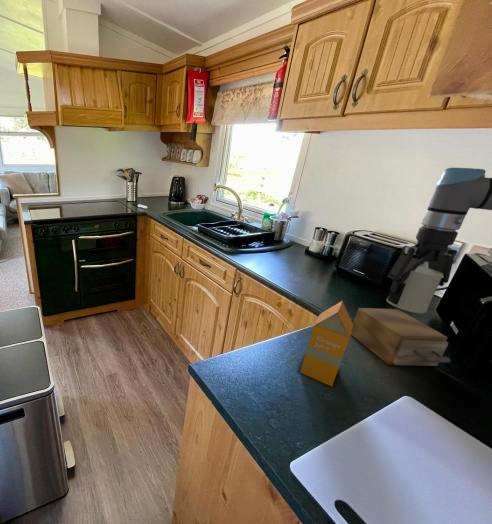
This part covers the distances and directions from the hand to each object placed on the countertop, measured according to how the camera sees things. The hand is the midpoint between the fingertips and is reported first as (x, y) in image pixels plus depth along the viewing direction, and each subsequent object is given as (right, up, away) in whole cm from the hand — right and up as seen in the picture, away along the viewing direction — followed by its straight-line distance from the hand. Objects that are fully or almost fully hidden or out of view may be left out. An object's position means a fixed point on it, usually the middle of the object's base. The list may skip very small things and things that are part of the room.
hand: (407, 302), depth 85 cm
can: (0, -1, 0) cm, 1 cm away
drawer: (-1, -16, +2) cm, 16 cm away
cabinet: (-1, -15, +6) cm, 16 cm away
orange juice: (-30, -18, -7) cm, 36 cm away
